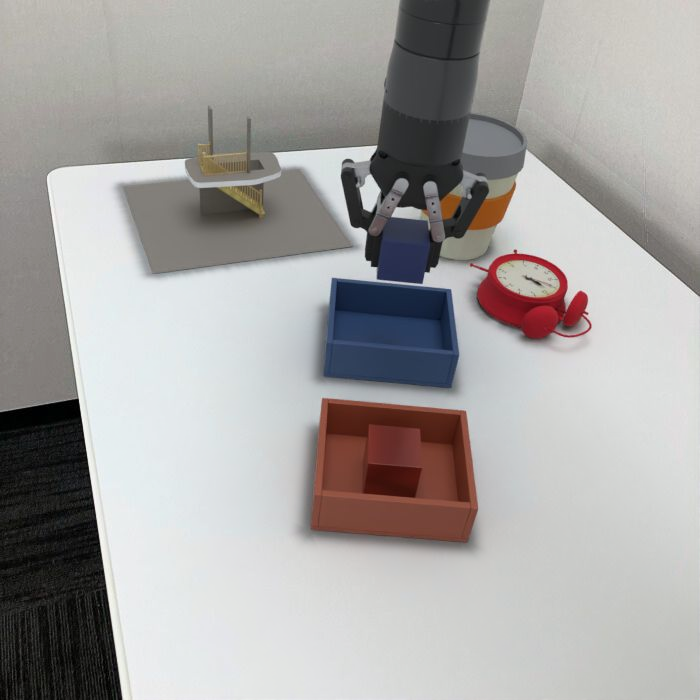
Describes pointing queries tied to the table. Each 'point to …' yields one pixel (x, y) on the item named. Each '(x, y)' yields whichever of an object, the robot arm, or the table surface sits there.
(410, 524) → the terracotta bin
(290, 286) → the table surface
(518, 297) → the alarm clock
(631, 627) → the table surface
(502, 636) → the table surface
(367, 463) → the red block
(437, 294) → the blue bin
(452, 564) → the table surface
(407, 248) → the navy block
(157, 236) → the architectural model
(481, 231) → the reusable coffee cup
